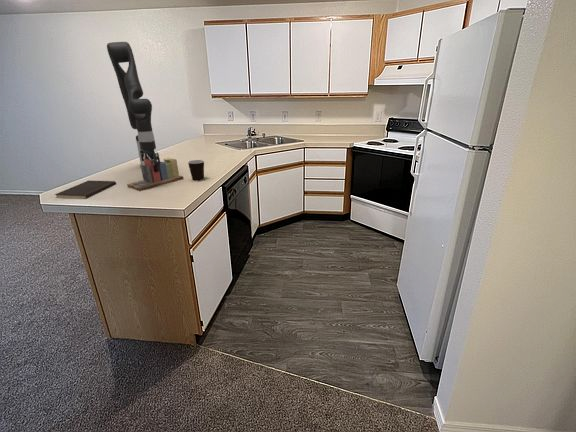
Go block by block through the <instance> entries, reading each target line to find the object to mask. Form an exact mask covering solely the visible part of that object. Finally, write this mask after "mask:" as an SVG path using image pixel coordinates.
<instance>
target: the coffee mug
mask: <svg viewBox="0 0 576 432" xmlns="http://www.w3.org/2000/svg"><path fill="white" fill-rule="evenodd" d="M187 164H188V168H189V171H190V175H191V180H192V181H195V182H196V181H197V182H198V181H203V180H204V179H205V161H204V160H202V159H194V160H193V159H192V160H189V161H187Z"/></svg>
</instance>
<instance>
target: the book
mask: <svg viewBox="0 0 576 432" xmlns="http://www.w3.org/2000/svg"><path fill="white" fill-rule="evenodd" d="M144 162H145V166H148V167H150V171H151V176H152V181H153V182H154V183H155V182H159V181H161V178H160V172H155V171H154V166H153V163H152V162H151V160H149V159H147V158H146V159H144ZM154 163H155V162H154ZM158 168H159V167H158Z"/></svg>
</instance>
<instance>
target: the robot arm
mask: <svg viewBox="0 0 576 432" xmlns="http://www.w3.org/2000/svg"><path fill="white" fill-rule="evenodd" d="M106 51H107V53H108V57H109V59H110V61H111V64H112V67H113V70H114V72H115V76H116V79H117V82H118V86H119V89H120V94H121V96H122V99H123V101H124V106H125V108H126V112H127V117H128V121H129V124H130V127H131V128H132V129H133V130H137V135H136V136H135V142H136V147H137V151H138V158H139V162H140V166H141V165H142V161H144V159H146V158H147V159H149V160H151V162H152V163H153V166H154V171H155V172H159V168H158V165H159V164H160V162H161V160H160V153H159V152H155V150H156V149H157V145H156V140H155V135H154V131H153V128H152V127H153V126H152V110H153V103H152V102H151V101H150V99H148V98H142V97H143V96H144V90H143V87H142V84H141V82H140V78H139V74H138V71H137V70H138V68H137V65H136V60H135V56H134V53H133V49H132V47H131V45H130V43H129V42H127V41H115V42H114V41H113V42H112V41H111V42H108V43H107V44H106ZM121 63H122V64H123V63H128V67H127V70H126V71H125V70H124V69H123V68H122V67H121V65H120V64H121ZM143 157H144V158H143ZM154 162H155V163H154ZM144 163H145V162H144Z"/></svg>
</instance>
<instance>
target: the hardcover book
mask: <svg viewBox="0 0 576 432" xmlns="http://www.w3.org/2000/svg"><path fill="white" fill-rule="evenodd" d="M116 185H117V182H116V181H115V180H86V181H83V182H81V183H79V184H77V185H74V186H71V187H69V188H67V189H64V190H62V191H59V192H58V193H55V194H54V196H56V198H58V199H60V198H61V199H89V198H91V197H93V196H96V195H97V194H99V193H101V192H104V191H105V190H107V189H109V188H111V187H113V186H116Z"/></svg>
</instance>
